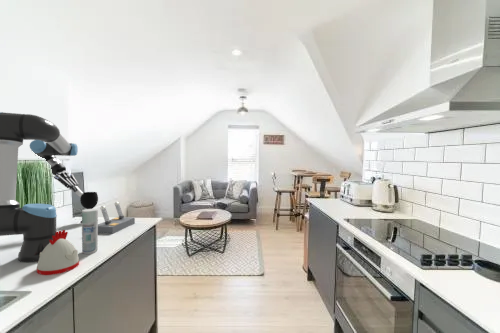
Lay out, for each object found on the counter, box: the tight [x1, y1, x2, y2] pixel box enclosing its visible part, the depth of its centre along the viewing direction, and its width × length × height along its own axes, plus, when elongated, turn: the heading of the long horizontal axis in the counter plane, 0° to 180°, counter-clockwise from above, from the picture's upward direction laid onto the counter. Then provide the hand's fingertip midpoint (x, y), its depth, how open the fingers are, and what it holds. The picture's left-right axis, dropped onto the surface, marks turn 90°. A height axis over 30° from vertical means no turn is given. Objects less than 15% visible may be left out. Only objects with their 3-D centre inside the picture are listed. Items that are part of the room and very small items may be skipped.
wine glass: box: [80, 191, 99, 224], centre depth 179 cm, size 10×10×20 cm
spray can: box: [81, 208, 99, 255], centre depth 123 cm, size 6×6×20 cm
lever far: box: [114, 201, 125, 219], centre depth 172 cm, size 3×3×12 cm
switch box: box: [98, 216, 136, 235], centre depth 165 cm, size 24×12×4 cm, turn 175°
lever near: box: [100, 205, 111, 225], centre depth 158 cm, size 3×3×12 cm
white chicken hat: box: [36, 229, 80, 276], centre depth 106 cm, size 14×14×15 cm
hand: (81, 194), depth 159 cm, fingers closed
